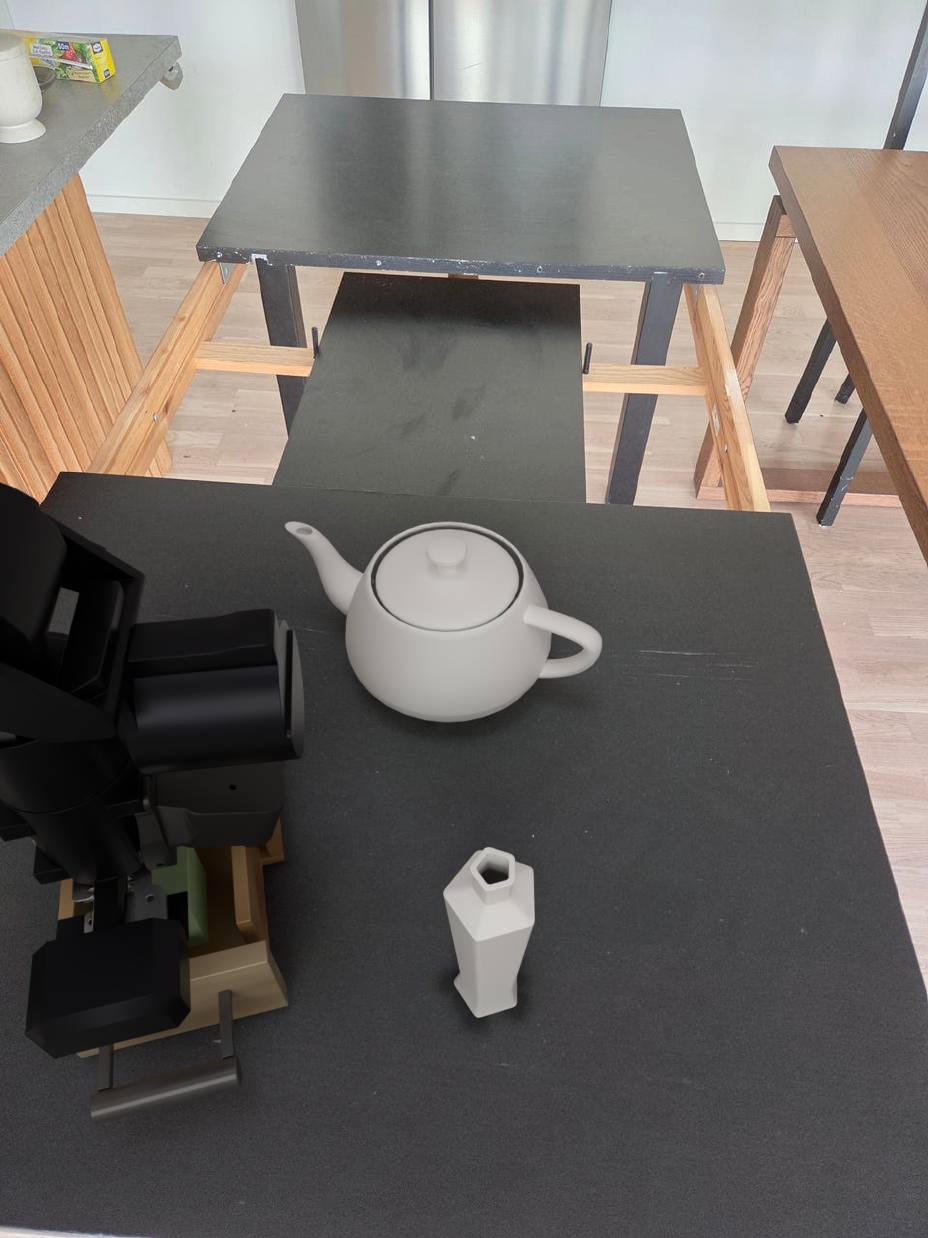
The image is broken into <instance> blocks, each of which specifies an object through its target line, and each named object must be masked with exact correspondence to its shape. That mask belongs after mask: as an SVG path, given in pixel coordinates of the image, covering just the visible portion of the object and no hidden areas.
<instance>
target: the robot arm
mask: <svg viewBox="0 0 928 1238" xmlns="http://www.w3.org/2000/svg"><path fill="white" fill-rule="evenodd" d="M40 507H41V504H40V502H39V501H38V500H37V499H36V498H35V497H33V496H31V495H29V494H28V493H26V492H24V491H22V490H20V489H19V488H16V487H13V486H11V485H8V484H6V483H4V482H1V481H0V838H1V840H2V841H3V842H4V843H5V842H11V841H15V840H20V839H25V838H30V839H33V841H34V842H35V843H36V845H35V850H34V851H35V852H34V861H33V871H32V876H33V877H34V878H35V880H37V881H38V883H39V884H40V886H45V885H49V884H52V883H57V882H61V881H62V880H67V879H71V878H72V879H73V881H72V896H71V898H72V901H73V902H74V903H75V904H84V903H88V902H91V901H93V900H94V907H93V911H92V912H89V913H87V914H82V915H78V916H73V917H69V918H65V919H60V920H58V919H57V921H56V931H55V933H56V934H55V939H53V940H47V941H45V942H44V943H43V944H42V945H41V946H40V947H39V948H38V949H37V950H36V951H35V952H34V953H33V954H32V955H31V956H32V957H31V966H30V976H29V977H30V978H29V986H28V987H29V989H28V996H27V997H28V998H27V1008H26V1009H27V1010H26V1019H25V1029H24V1036H25V1037H26V1038H28V1039H29V1040H30V1041H32V1042H33V1043H34V1044H35V1045H36V1046H38V1047H39V1048H40V1049H41V1050H43V1051H44V1052H45V1053H46V1054H48V1055H49V1056H50V1057H51V1058H53V1059H55V1060H56V1059H60V1058H63V1057H67V1056H71V1055H77V1054H76V1053H80V1052H84V1051H88V1050H91V1049H95V1048H99V1047H103V1046H107V1045H111V1044H115V1043H119V1042H123V1041H127V1040H131V1039H135V1038H139V1037H143V1036H147V1035H151V1034H155V1033H159V1032H163V1031H167V1030H171V1029H175V1028H178V1027H179V1026H180V1025H181V1023H182V1022H183V1021H184V1019H185V1018H186V1017H187V1016H188V1014H189V1013H190V1012H191V993H190V958H189V949H188V944H187V942H188V939H189V916H188V891H183V892H179V893H175V894H170V895H167V894H166V892H165V890H164V889H163V887H161V886H160V885H156V884H153V883H152V870H155V869H160V868H164V867H169V866H173V865H177V847H180V846H184V847H188V848H206V847H227V846H244V847H246V848H251V847H260V846H262V845H265V844H266V843H268V842H269V841H270V839H271V838H272V836H273V833H274V830H275V827H276V825H277V822H278V819H279V816H281V813H282V810H283V807H284V804H285V801H286V798H287V797H286V796H287V795H286V786H285V776H284V767H283V762H284V761H294V760H301V759H302V757H303V754H304V749H305V736H306V735H305V734H306V719H305V718H306V717H305V715H306V714H305V696H304V694H305V693H304V683H303V672H302V665H301V664H302V663H301V658H300V651H299V645H298V641H297V636H296V631H295V628H289V625H288V623H287V621H286V620H285V619H278V616H277V613H276V610H274V609H271V608H269V607H266V608H256V609H255V608H253V609H245V610H237V611H233V612H230V613H226V614H223V615H216V616H207V617H195V618H185V619H183V618H182V619H173V620H162V621H161V620H160V621H151V622H150V621H148V618H147V616H146V614H145V611H144V609H143V606H142V602H143V596H144V592H145V586H146V582H147V581H146V580H147V576H146V575H145V574H144V573H143V572H142V571H140V570H139V569H137V568H135V567H134V566H132V565H131V564H129V563H128V562H126V561H124V560H123V559H122V558H119V557H118V556H116V555H114V553H113V554H112V553H111V552H110V551H108V550H107V547H105V546H102V545H101V544H98V543H96V542H94V541H92V540H90V539H88V538H87V537H85V536H83V535H81V534H80V533H78V532H77V531H75V530H73V529H72V528H70V527H69V526H67V525H66V524H64V523H62V522H61V521H59V520H57V519H56V518H54V517H52V516H51V515H50V514H48V513H46V512H44V511H43V510H42V509H41V508H40ZM61 589H65V590H68V591H71V592H74V593H77V594H78V595H77V600H76V603H75V607H74V611H73V614H72V619H71V623H70V626H69V630H68V634H67V633H65V632H58V631H51V630H50V627H51V625H52V624H51V623H52V620H53V616H54V613H55V609H56V606H57V602H58V599H59V595H60V591H61ZM128 875H129V877H130V878H132V879H130V880H129V881H128ZM94 884H95V886H92V885H94ZM128 884H129V885H130V886H132V887H130V888H128ZM93 892H94V894H92V893H93Z"/></svg>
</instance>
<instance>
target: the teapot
mask: <svg viewBox="0 0 928 1238" xmlns="http://www.w3.org/2000/svg"><path fill="white" fill-rule="evenodd" d="M284 528H285V529H286V531H287V532H288V533H289V534H291V536H293V537H295V538H296V539H297V540H298V541H299V542H301V543H302V544H303V545H304V547H305V548H306V550H307V551H308V552H309V554H310V555H311V557H312V559H313V562H314V565H315V567H316V570H317V572H318V576H319V579H320V582H321V584H322V587H323V590H324V593H325V595H326V596H327V597H328V599H329V600H330V602H331V604H332V605H333V606H335V607H336V609H338V610H339V611H340V612H341V613H342V614H343V615H345V616H346V619H345V641H344V642H345V649H346V654H347V657H348V661H349V664H350V666H351V668H352V670H353V672H354V674H355V676H356V678H357V680H358V681H359V682H360V683H361V684H362V685H363V687H364V688H365V689H366V690H367V691H368V692H369V694H371V696H373V697H374V698H376V699H377V700H379V701H380V702H381V703H382V704H384V705H385V706H386V707H388V708H389V709H392V710H394V711H397V712H399V713H401V714H403V715H405V716H408V717H412V718H416V719H420V720H423V721H427V722H430V721H431V722H437V723H459V722H468V721H473V720H476V719H481V718H485V717H488V716H491V715H492V714H495V713H497V712H500V711H502V710H504V709H507V708H508V707H510V705H512V704H514V703H515V702H517V701H518V700H520V698H522V697H523V696H524V695H525V694H526V692H528V691H529V690H530V689H531V688H532V687H533V686H534V685H535V683H536V682H537V680H538V679H557V678H566V677H571V676H575V675H578V674H580V673H582V672H584V671H587V670H588V669H589V668H590V667H592V666H593V665H594V664H595V663H596V661H597V660H598V659H599V658H600V655H601V653H602V649H603V638H602V635H601V634H600V632H599V631H597V630H596V629H595V628H594V627H593V626H592V625H589V624H587V623H586V622H584V621H582V620H579V619H577V618H575V617H572V616H570V615H566V614H564V613H561V612H558V611H555V610H552V609H549V606H548V601H547V599H546V596H545V595H544V592H543V590H542V588H541V585H540V584H539V582H538V580H537V577H536V575H535V574H534V572H533V570H532V569H531V567H530V565H529V564H528V561H526V559H525V558H524V556H523V555H522V554H521V552H520V551H519V550H518V549H517V547H516V546H515V545H513V544H512V543H511V542H510V541H509V540H508V539H507V538H505V537H503V536H502V535H500V534H499V533H497V532H495V531H493V530H490V529H489V528H485V527H484V526H481V525H477V524H471V523H467V522H459V521H436V522H430V523H423V524H420V525H417V526H414V527H411V528H408V529H405V530H404V531H402V532H399V533H397V534H396V535H393V537H391V538H390V539H389V540H387V541H386V542H384V544H383V545H381V547H380V548H379V549H378V550H377V551H376V552H375V553H374V555H373V556H372V558H371V560H370V561H369V563H368V565H367V566H366V568H365V570H364V572H361V571H360V570H358V569H356V568H355V567H354V566H352V565H351V564H350V563H348V562H347V561H346V559H345V558H343V556H341V554H340V553H339V552H338V551H337V549H336V548H335V547H334V546H333V544H332V543H331V541H329V539H328V538H327V537H326V536H325V535H324V534H323V533H321V532H320V531H319V530H318V529H316V528H315V527H314V526H312V525H309V524H307V523H304V522H300V521H288V522H286V523H285V524H284ZM552 634H555V635H558V636H560V637H563V638H566V639H568V640H570V641H571V642H574V643H576V644H577V645H579V646H581V647H582V648H583V649H582V650H581V651H580V652H578V653H576V654H574V655H572V656H567V657H562V658H548V657H549V654H550V652H551V646H552V636H553V635H552Z"/></svg>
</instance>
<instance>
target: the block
mask: <svg viewBox="0 0 928 1238" xmlns="http://www.w3.org/2000/svg"><path fill="white" fill-rule="evenodd" d="M130 879H132V878H130V877H129V875H128V881H129V880H130ZM152 883H153V884H156V885H160V886H161V887H163V889H164V890H165V892H166V894H167V895H170V894H175V893H179V892H183V891H188V916H189V939H188V942H187V944H188V948H189V947H193V946H198V945H202V944H206V943H208V942H209V934H208V911H207V889H206V871H205V869H204V867H203V865H202V863H201V862H200V860H199V858H198V856H197V854H196V852H195V850H194V848H188V847H184V846H180V847H177V865H173V866H169V867H164V868H160V869H155V870H152ZM130 887H132V886H130V885H129V884H128V888H130Z"/></svg>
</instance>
